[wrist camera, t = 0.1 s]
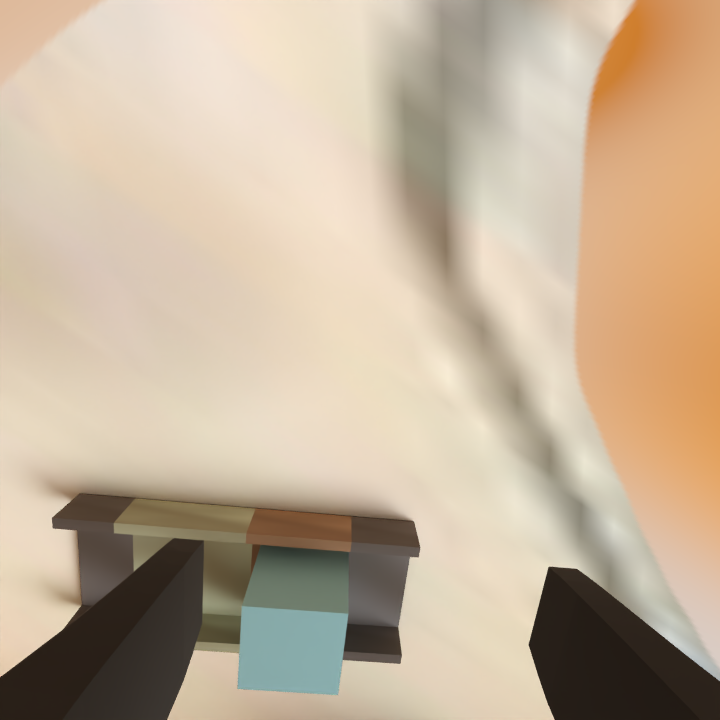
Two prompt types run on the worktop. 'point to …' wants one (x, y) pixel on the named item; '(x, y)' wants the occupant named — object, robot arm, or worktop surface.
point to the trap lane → (246, 560)
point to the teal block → (294, 621)
